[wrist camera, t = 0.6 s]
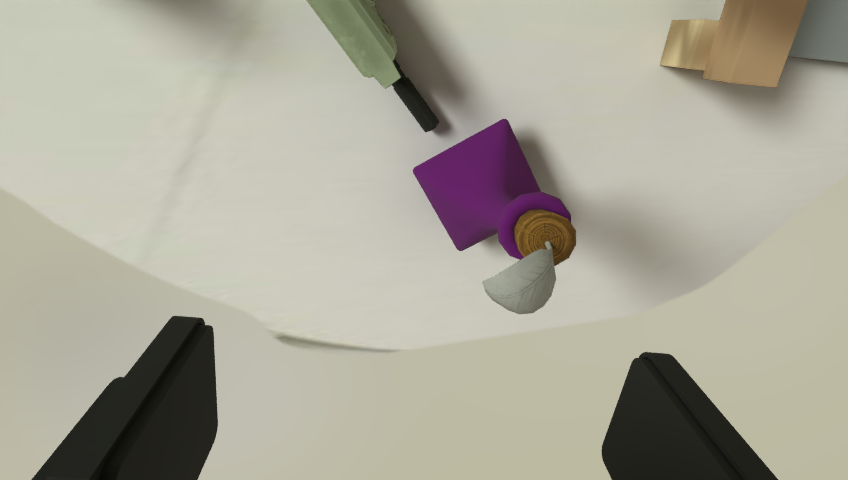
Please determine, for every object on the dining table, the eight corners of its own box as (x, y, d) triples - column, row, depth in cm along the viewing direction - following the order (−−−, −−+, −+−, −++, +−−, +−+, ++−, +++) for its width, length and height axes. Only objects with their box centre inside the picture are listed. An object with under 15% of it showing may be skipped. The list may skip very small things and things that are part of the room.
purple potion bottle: (497, 110, 37) (581, 176, 20) (536, 193, 39) (638, 311, 23) (410, 158, 38) (421, 259, 21) (454, 235, 40) (494, 378, 24)
